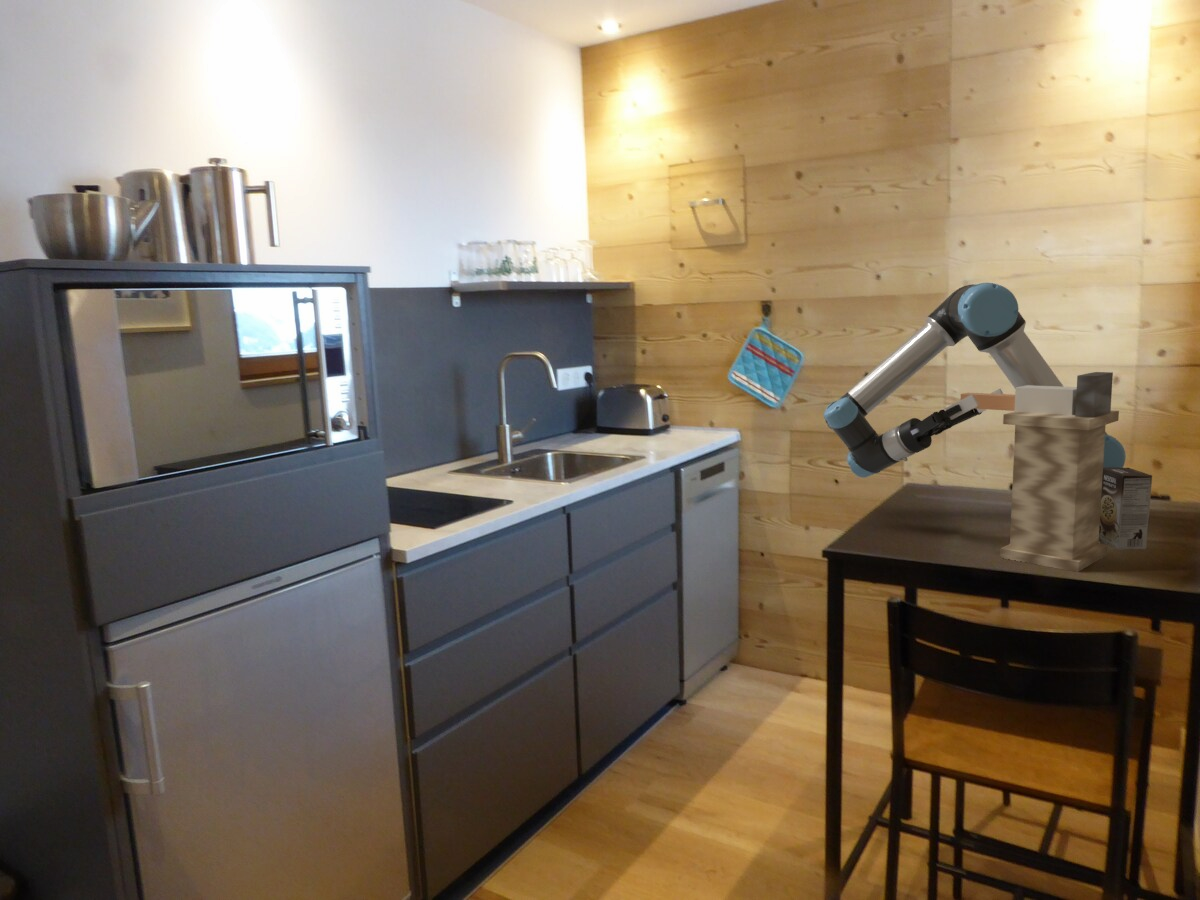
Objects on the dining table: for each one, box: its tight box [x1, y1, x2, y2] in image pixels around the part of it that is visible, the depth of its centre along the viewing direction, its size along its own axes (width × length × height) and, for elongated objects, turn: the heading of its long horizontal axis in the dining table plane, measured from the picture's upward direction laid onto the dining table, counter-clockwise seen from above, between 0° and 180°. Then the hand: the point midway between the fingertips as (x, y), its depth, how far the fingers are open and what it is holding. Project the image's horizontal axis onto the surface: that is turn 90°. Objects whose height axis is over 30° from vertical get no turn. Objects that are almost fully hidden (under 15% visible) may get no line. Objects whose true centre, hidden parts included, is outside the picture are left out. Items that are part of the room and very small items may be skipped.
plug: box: [959, 385, 1077, 415], centre depth 182 cm, size 24×6×5 cm, turn 43°
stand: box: [999, 371, 1120, 573], centre depth 178 cm, size 16×17×38 cm
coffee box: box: [1099, 467, 1153, 551], centre depth 187 cm, size 9×6×16 cm
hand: (989, 396), depth 187 cm, fingers open, 13 cm apart
